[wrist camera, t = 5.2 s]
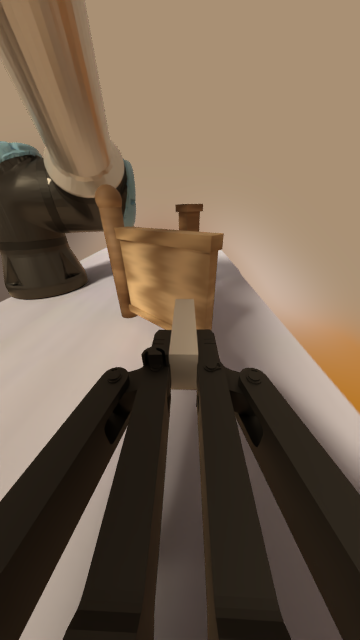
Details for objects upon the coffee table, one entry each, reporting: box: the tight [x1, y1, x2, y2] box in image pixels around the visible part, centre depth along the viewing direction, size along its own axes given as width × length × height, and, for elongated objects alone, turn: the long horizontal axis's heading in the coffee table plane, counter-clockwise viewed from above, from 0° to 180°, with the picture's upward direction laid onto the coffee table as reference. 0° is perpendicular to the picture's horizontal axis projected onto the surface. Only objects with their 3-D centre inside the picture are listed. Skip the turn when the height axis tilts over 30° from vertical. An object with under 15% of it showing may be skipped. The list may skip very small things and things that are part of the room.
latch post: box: [176, 204, 203, 232], centre depth 34 cm, size 3×3×15 cm
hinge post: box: [95, 184, 137, 318], centre depth 25 cm, size 3×3×17 cm
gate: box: [114, 227, 224, 330], centre depth 21 cm, size 14×2×11 cm, turn 48°
